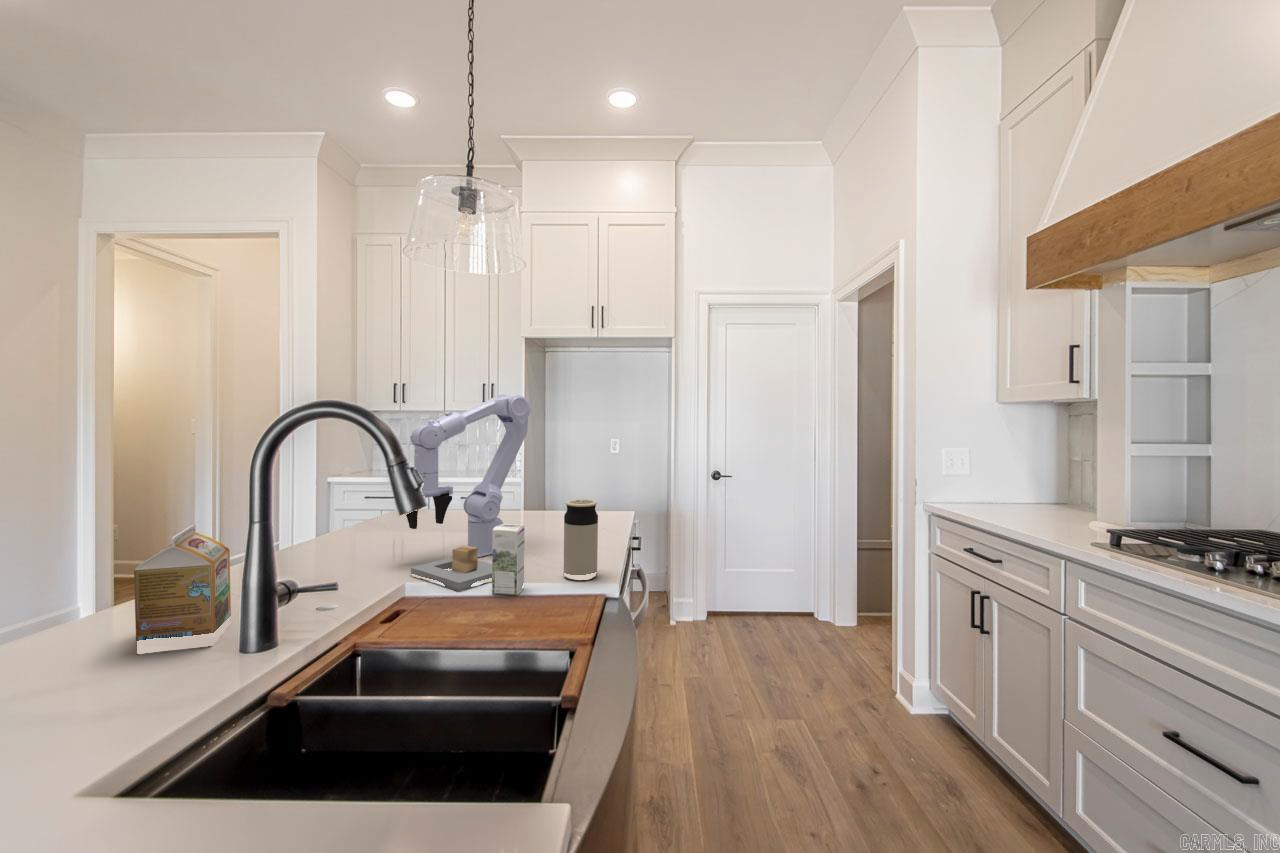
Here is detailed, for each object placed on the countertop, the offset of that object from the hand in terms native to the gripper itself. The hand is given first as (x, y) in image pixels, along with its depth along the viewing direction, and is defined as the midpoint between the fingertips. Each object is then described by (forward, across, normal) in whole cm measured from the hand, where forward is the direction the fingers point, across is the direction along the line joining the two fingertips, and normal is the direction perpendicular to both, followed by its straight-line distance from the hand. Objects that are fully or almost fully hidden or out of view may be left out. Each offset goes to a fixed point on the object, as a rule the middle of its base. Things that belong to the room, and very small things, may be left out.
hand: (426, 525), depth 153 cm
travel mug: (+10, -16, +38) cm, 42 cm away
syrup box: (+10, +2, +33) cm, 34 cm away
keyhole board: (+9, +2, +16) cm, 19 cm away
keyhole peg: (+9, +2, +18) cm, 20 cm away
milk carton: (+10, +54, +9) cm, 55 cm away
